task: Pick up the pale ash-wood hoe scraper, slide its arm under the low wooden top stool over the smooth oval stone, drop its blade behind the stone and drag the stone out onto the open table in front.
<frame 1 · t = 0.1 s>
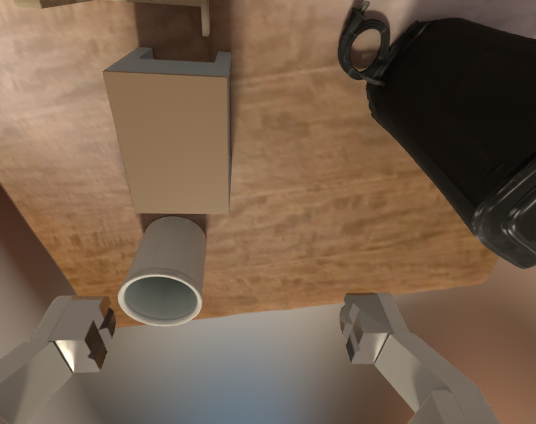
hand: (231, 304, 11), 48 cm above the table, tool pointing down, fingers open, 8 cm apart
coffee maker: (436, 69, 53), on the table
utensil holder: (176, 238, 72), on the table
wooden top stool: (190, 113, 55), on the table
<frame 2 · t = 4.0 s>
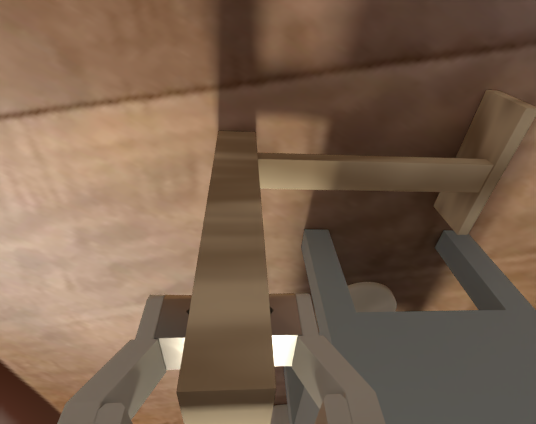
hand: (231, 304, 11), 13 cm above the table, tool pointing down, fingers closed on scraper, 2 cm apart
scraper: (237, 148, 21), on the table, touching gripper
utensil holder: (281, 421, 49), on the table
wooden top stool: (359, 305, 32), on the table
smooth oval stone: (358, 302, 33), on the table
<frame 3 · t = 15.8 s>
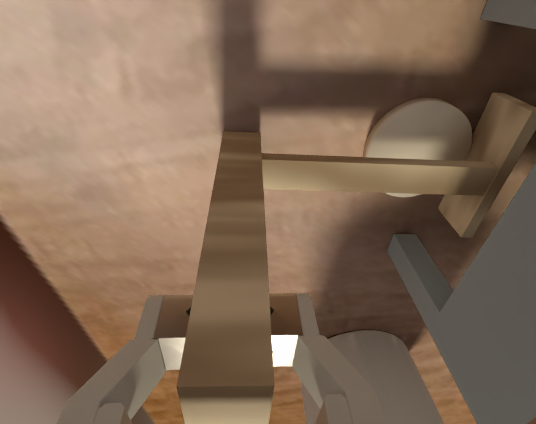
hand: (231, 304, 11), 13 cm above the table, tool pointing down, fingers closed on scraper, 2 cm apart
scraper: (241, 148, 21), on the table, touching gripper
utensil holder: (353, 357, 40), on the table
wooden top stool: (517, 152, 23), on the table
smooth oval stone: (411, 147, 23), on the table
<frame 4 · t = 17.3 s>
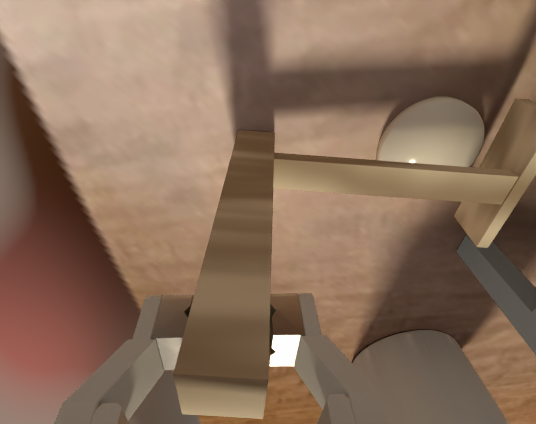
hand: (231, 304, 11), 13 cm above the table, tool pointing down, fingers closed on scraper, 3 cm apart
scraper: (255, 148, 22), on the table, tilted 5°, touching gripper
utensil holder: (404, 357, 41), on the table
smooth oval stone: (423, 144, 23), on the table
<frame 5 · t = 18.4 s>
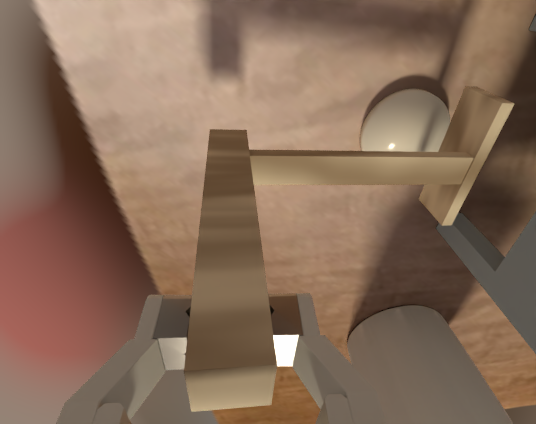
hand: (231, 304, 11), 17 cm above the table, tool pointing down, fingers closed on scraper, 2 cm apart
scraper: (228, 146, 22), point 4 cm above the table, touching gripper
utensil holder: (396, 333, 44), on the table
smooth oval stone: (399, 130, 27), on the table
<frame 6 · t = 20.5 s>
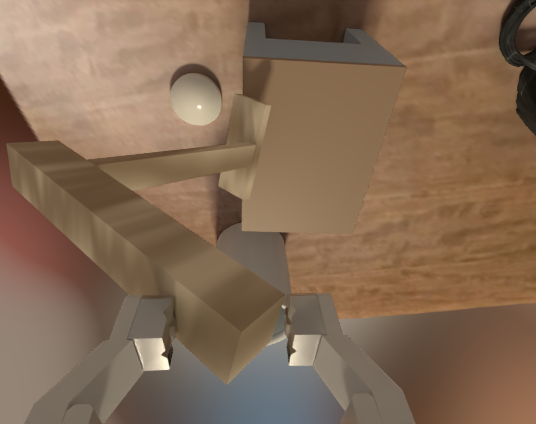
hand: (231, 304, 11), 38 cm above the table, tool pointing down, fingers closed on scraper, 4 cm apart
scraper: (35, 162, 18), point 29 cm above the table, tilted 51°, touching wooden top stool, gripper
utensil holder: (251, 244, 64), on the table
wooden top stool: (295, 105, 45), on the table
smooth oval stone: (197, 98, 44), on the table
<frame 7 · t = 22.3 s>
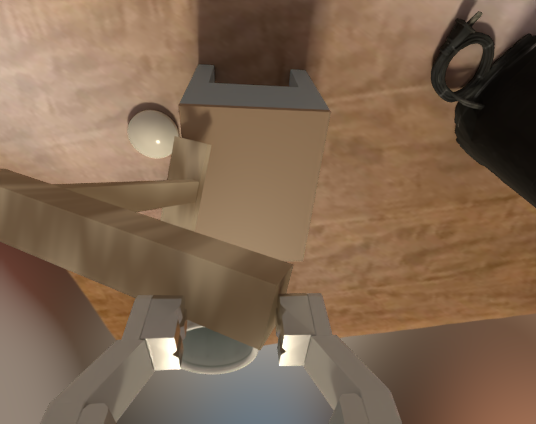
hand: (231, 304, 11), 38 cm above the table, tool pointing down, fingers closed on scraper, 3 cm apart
utensil holder: (219, 269, 65), on the table
wooden top stool: (250, 138, 47), on the table
smooth oval stone: (155, 132, 46), on the table
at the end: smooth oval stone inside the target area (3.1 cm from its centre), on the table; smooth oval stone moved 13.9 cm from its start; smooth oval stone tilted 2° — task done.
